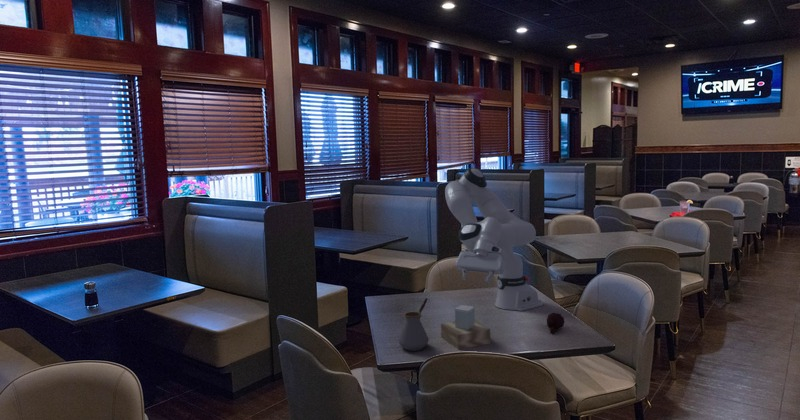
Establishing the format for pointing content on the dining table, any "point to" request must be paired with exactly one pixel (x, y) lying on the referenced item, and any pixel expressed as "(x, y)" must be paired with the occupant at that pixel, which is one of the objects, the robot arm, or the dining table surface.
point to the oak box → (465, 335)
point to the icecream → (555, 322)
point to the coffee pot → (413, 331)
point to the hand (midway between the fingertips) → (475, 280)
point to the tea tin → (464, 317)
